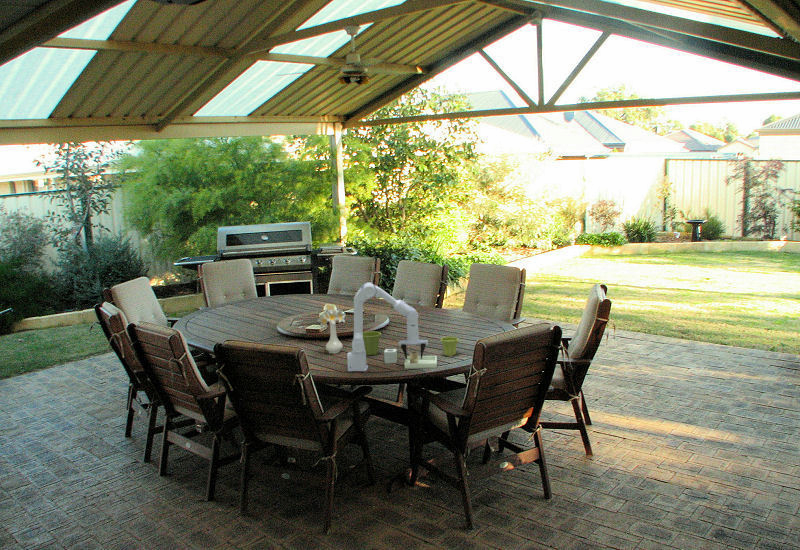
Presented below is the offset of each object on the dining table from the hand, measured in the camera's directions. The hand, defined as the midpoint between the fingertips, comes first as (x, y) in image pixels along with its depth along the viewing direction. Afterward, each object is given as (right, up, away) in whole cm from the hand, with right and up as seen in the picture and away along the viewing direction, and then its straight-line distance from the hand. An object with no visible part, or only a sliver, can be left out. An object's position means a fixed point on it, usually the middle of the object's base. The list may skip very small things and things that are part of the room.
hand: (413, 358), depth 318 cm
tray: (+4, -3, +1) cm, 5 cm away
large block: (-12, -3, +9) cm, 15 cm away
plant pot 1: (-23, -1, +26) cm, 35 cm away
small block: (0, -3, 0) cm, 3 cm away
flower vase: (-44, -1, +31) cm, 54 cm away
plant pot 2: (+20, 0, +17) cm, 26 cm away
